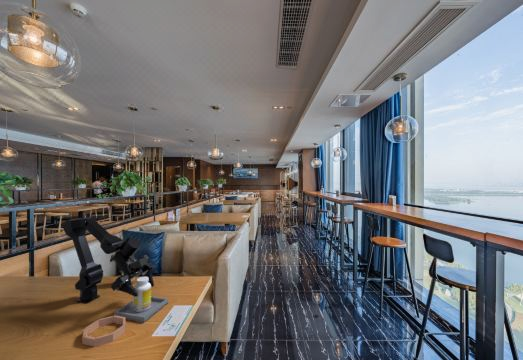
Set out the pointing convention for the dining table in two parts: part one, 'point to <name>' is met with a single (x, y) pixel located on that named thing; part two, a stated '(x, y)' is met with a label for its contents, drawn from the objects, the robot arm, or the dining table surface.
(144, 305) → the supplement bottle
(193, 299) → the dining table surface
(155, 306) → the tray
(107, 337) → the holder ring
